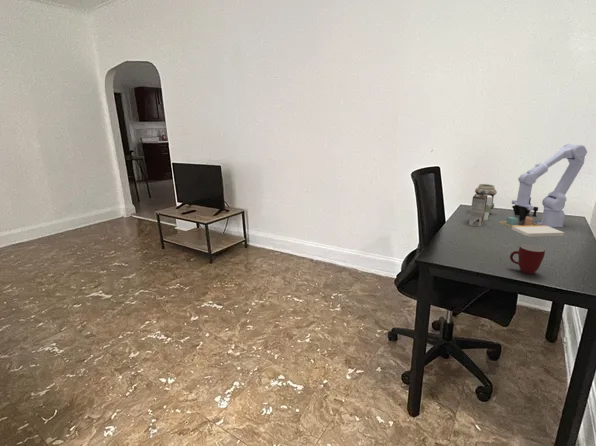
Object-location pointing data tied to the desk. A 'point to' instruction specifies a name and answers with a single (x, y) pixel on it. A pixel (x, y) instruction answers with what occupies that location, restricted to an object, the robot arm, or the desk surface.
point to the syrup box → (488, 207)
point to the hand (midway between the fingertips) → (519, 219)
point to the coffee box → (478, 209)
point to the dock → (538, 231)
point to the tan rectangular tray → (520, 223)
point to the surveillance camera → (533, 209)
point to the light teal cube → (512, 221)
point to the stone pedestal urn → (486, 191)
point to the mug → (529, 258)
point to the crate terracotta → (528, 220)
